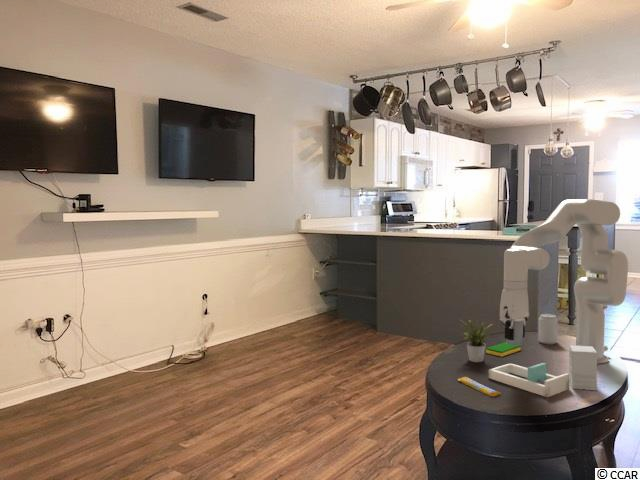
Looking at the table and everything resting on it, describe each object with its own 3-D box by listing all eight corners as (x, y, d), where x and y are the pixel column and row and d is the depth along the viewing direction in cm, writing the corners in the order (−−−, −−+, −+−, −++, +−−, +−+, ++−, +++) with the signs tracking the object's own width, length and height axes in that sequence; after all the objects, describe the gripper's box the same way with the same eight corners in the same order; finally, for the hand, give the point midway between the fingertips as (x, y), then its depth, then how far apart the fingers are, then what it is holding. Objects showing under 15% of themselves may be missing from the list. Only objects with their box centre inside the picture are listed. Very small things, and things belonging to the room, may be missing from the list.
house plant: (446, 360, 199) (446, 318, 198) (463, 352, 209) (464, 312, 208) (481, 368, 189) (482, 324, 188) (497, 359, 199) (498, 317, 198)
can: (540, 344, 218) (541, 316, 217) (536, 339, 226) (536, 312, 225) (559, 345, 217) (560, 317, 216) (554, 340, 224) (555, 313, 224)
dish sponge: (520, 351, 211) (521, 345, 211) (501, 357, 202) (501, 351, 202) (505, 347, 216) (505, 341, 216) (485, 353, 208) (485, 347, 208)
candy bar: (502, 396, 162) (502, 391, 162) (492, 399, 160) (492, 393, 160) (466, 380, 177) (466, 375, 177) (457, 382, 176) (457, 377, 176)
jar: (512, 340, 179) (513, 314, 179) (526, 343, 175) (526, 317, 174) (502, 342, 176) (503, 316, 176) (516, 346, 172) (516, 319, 171)
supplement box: (592, 383, 171) (593, 346, 170) (596, 391, 164) (597, 352, 163) (568, 381, 174) (569, 344, 173) (571, 388, 167) (572, 350, 166)
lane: (510, 371, 185) (510, 357, 184) (569, 389, 167) (569, 373, 166) (488, 378, 178) (488, 363, 178) (547, 397, 160) (547, 381, 160)
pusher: (542, 382, 172) (543, 362, 172) (557, 387, 168) (557, 366, 167) (527, 387, 168) (527, 367, 167) (542, 392, 163) (542, 371, 163)
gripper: (521, 281, 182) (520, 332, 183) (489, 286, 173) (489, 339, 174) (540, 284, 176) (539, 336, 177) (509, 289, 166) (508, 344, 168)
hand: (514, 337), depth 175 cm, fingers closed on jar, 5 cm apart
